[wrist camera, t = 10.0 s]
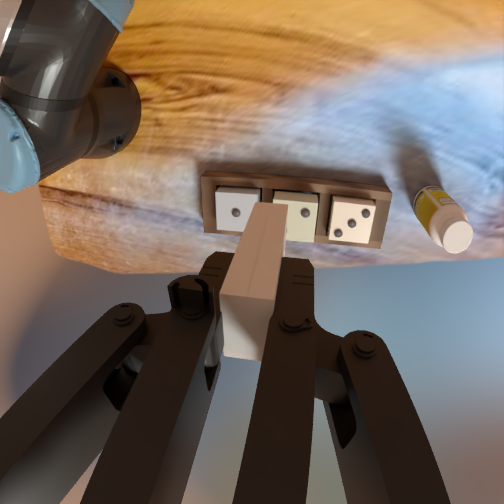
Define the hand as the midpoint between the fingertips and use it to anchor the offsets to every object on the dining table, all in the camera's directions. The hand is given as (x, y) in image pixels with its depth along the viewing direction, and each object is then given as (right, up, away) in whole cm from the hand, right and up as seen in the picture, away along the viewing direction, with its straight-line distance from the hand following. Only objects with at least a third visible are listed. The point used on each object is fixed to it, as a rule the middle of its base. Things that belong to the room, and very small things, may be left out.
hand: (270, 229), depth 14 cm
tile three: (+13, +5, +28) cm, 32 cm away
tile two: (+5, +5, +28) cm, 29 cm away
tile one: (-3, +6, +31) cm, 31 cm away
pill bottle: (+26, +6, +26) cm, 38 cm away
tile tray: (+6, +6, +30) cm, 31 cm away
